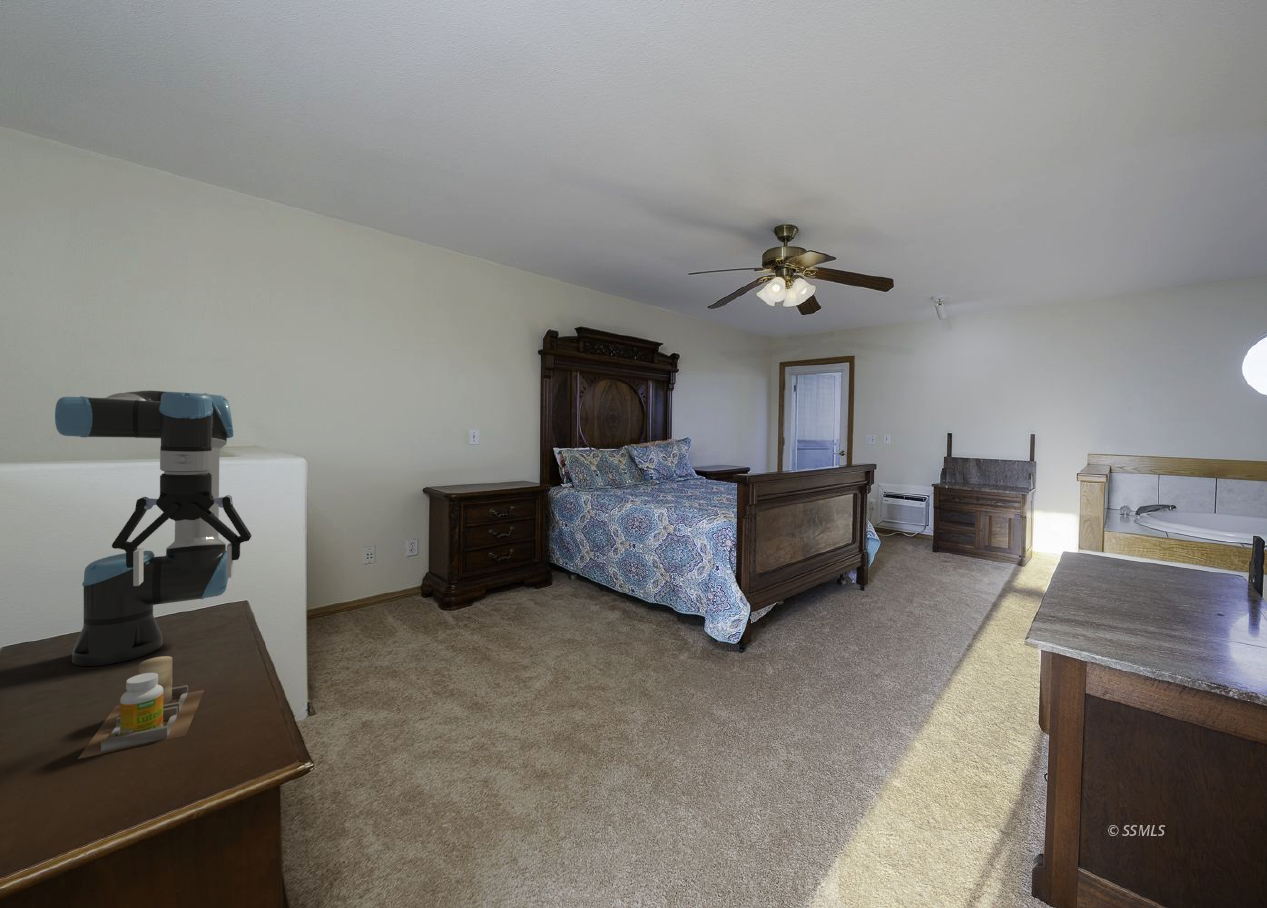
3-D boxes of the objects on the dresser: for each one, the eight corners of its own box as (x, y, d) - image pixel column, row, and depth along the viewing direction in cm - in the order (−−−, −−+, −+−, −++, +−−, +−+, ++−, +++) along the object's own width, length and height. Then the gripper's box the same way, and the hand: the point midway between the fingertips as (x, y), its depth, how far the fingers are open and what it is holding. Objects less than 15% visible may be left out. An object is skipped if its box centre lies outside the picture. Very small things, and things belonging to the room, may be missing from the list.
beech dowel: (142, 705, 96) (142, 659, 96) (174, 700, 98) (174, 654, 98) (135, 717, 92) (135, 669, 92) (168, 711, 94) (169, 663, 94)
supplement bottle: (135, 744, 84) (136, 687, 84) (111, 739, 86) (111, 683, 85) (171, 726, 90) (171, 672, 89) (147, 722, 91) (147, 669, 91)
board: (115, 712, 96) (115, 696, 95) (204, 695, 103) (204, 681, 102) (77, 766, 80) (77, 747, 80) (185, 742, 87) (185, 725, 87)
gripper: (87, 474, 88) (87, 593, 89) (263, 474, 101) (262, 578, 102) (103, 470, 94) (104, 581, 95) (267, 470, 107) (266, 568, 108)
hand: (185, 580), depth 99 cm, fingers open, 13 cm apart
